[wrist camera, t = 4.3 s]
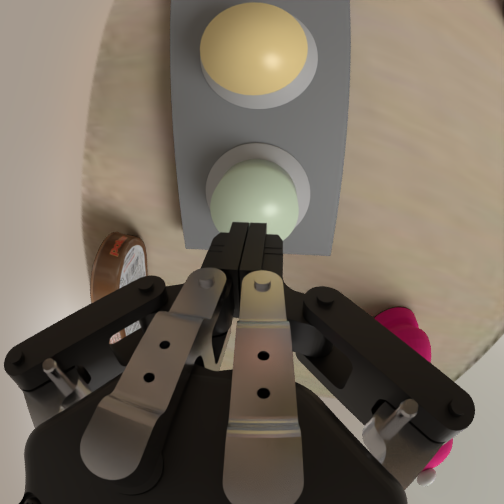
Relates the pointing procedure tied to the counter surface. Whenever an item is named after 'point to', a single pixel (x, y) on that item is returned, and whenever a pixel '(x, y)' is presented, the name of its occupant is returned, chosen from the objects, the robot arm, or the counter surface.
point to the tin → (118, 270)
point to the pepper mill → (408, 331)
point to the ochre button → (253, 48)
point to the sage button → (256, 197)
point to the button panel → (263, 121)
